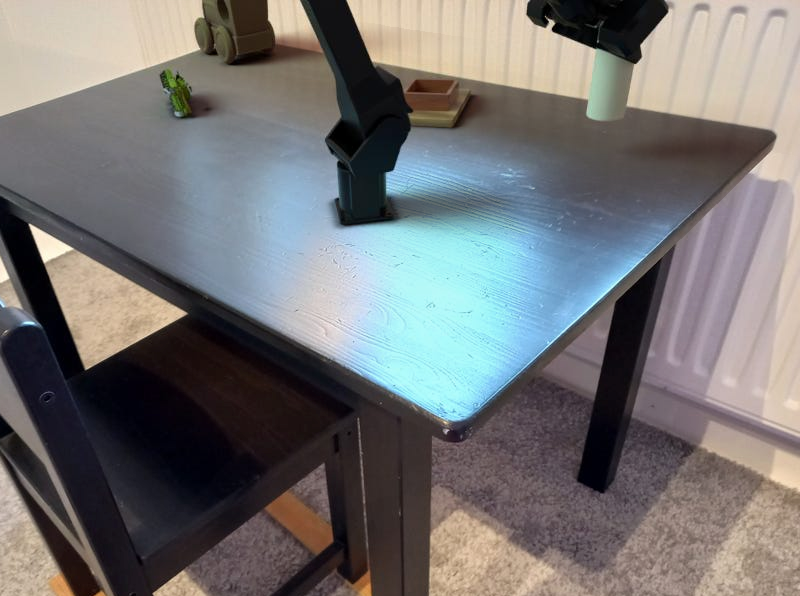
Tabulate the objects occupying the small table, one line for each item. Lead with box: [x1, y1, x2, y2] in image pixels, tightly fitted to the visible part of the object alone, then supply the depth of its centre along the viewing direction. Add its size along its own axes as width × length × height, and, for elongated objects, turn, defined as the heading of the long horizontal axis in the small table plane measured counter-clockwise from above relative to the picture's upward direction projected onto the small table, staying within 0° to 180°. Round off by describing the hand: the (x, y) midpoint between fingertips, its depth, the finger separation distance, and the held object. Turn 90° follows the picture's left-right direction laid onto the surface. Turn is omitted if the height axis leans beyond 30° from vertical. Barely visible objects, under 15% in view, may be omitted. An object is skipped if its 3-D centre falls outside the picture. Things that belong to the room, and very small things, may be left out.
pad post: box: [585, 21, 635, 122], centre depth 85 cm, size 5×5×14 cm
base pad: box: [403, 77, 472, 129], centre depth 110 cm, size 14×10×4 cm
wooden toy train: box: [193, 0, 276, 65], centre depth 141 cm, size 20×11×17 cm, turn 31°
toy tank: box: [158, 68, 209, 118], centre depth 123 cm, size 7×19×10 cm
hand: (624, 55), depth 86 cm, fingers closed on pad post, 4 cm apart
